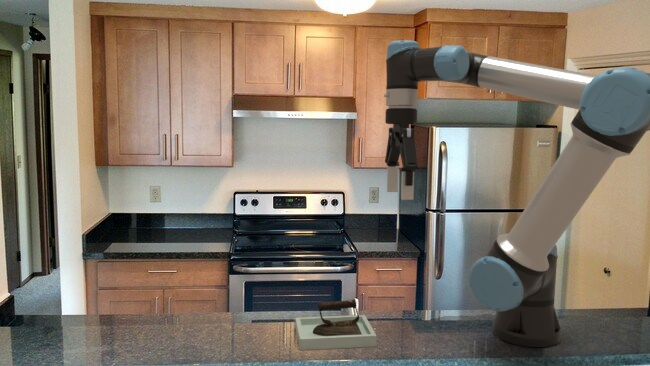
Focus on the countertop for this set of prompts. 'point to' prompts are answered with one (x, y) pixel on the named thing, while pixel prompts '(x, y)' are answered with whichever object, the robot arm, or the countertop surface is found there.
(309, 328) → the iron rest
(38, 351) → the countertop surface
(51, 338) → the countertop surface
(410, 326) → the countertop surface
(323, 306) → the clothes iron
